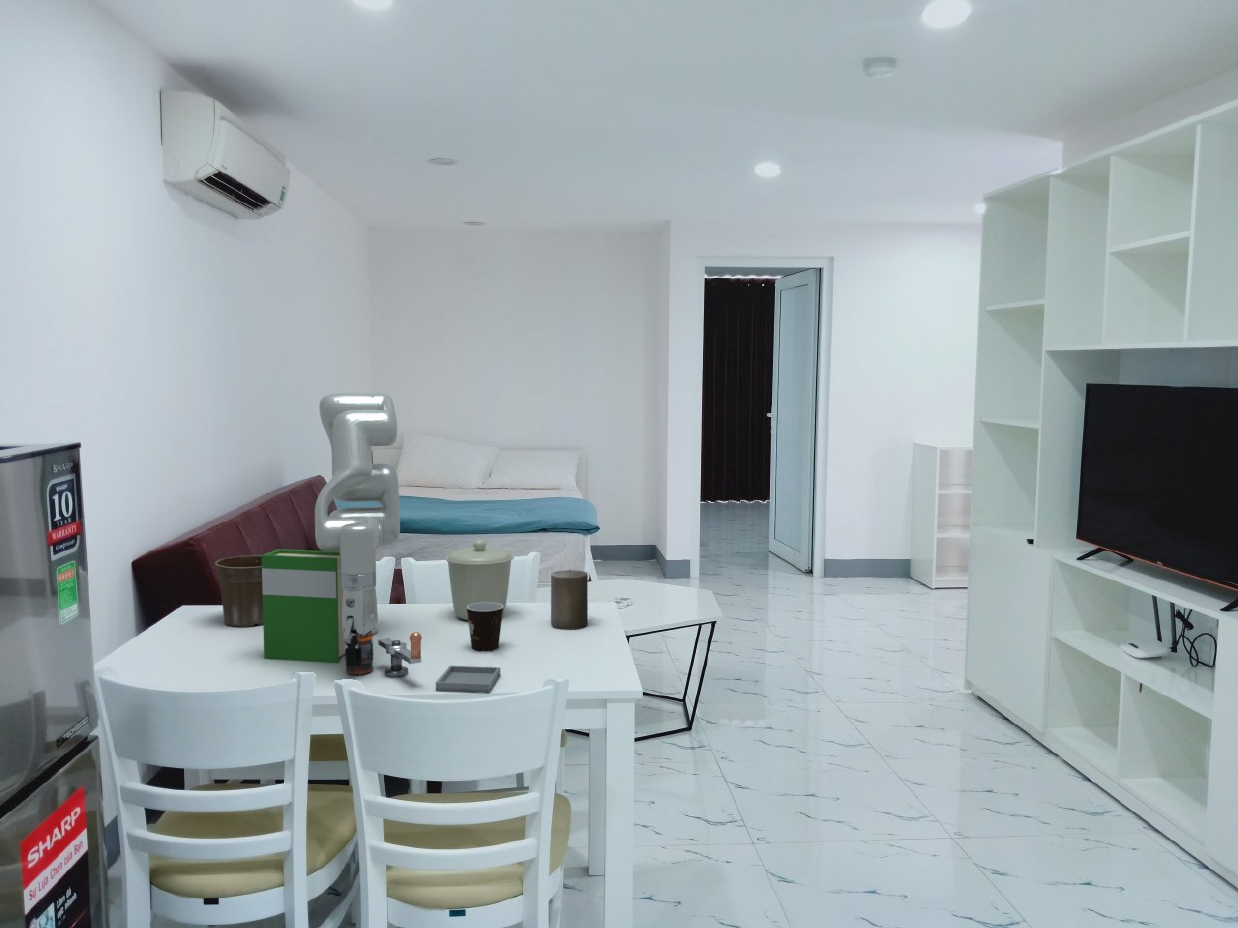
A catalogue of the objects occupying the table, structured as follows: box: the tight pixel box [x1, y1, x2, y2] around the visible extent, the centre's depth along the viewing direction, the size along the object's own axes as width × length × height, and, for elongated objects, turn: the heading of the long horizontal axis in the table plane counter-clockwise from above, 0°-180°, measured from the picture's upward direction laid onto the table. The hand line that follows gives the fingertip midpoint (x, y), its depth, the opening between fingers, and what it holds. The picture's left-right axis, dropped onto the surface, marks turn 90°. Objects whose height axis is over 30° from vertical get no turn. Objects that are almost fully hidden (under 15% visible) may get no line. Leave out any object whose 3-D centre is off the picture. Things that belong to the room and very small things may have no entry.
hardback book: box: [261, 548, 345, 664], centre depth 213 cm, size 18×7×24 cm, turn 81°
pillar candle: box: [550, 568, 589, 630], centre depth 243 cm, size 10×10×15 cm
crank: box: [377, 631, 423, 665], centre depth 200 cm, size 18×4×7 cm, turn 37°
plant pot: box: [214, 554, 263, 628], centre depth 242 cm, size 16×16×16 cm
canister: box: [444, 538, 515, 621], centre depth 250 cm, size 18×18×21 cm
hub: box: [384, 654, 409, 679], centre depth 202 cm, size 5×5×5 cm
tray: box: [435, 665, 501, 694], centre depth 197 cm, size 11×11×2 cm
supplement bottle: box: [344, 630, 374, 676], centre depth 203 cm, size 6×6×11 cm
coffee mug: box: [467, 602, 504, 653], centre depth 221 cm, size 12×9×10 cm
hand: (359, 659), depth 204 cm, fingers closed on supplement bottle, 6 cm apart
